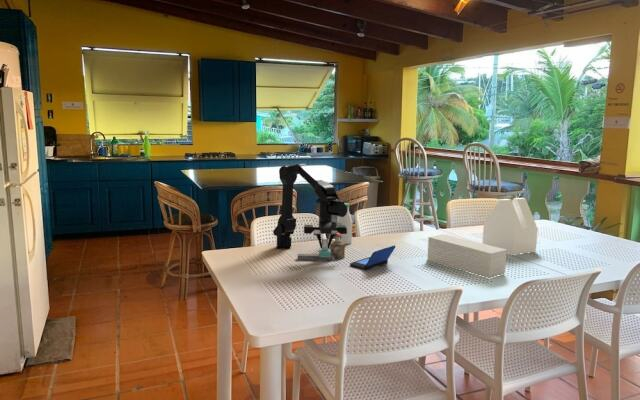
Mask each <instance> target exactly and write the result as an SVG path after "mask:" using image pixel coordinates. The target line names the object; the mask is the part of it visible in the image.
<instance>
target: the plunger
mask: <svg viewBox="0 0 640 400" xmlns="http://www.w3.org/2000/svg"><path fill="white" fill-rule="evenodd" d="M340 236H341V234H339V233H337V235H336V236H334V240H335V243H340Z"/></svg>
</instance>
